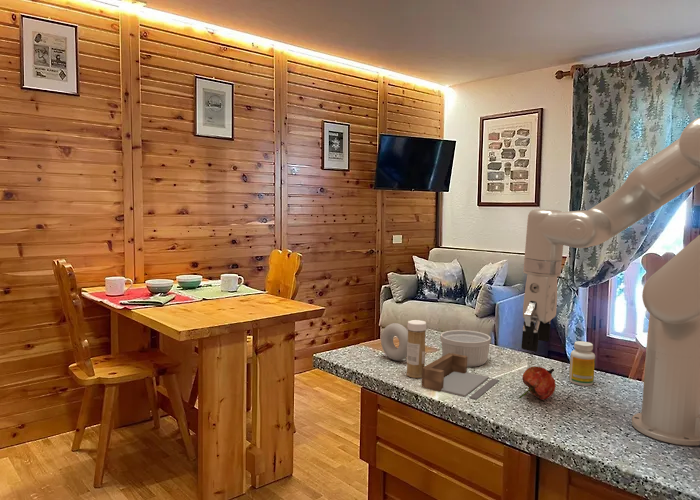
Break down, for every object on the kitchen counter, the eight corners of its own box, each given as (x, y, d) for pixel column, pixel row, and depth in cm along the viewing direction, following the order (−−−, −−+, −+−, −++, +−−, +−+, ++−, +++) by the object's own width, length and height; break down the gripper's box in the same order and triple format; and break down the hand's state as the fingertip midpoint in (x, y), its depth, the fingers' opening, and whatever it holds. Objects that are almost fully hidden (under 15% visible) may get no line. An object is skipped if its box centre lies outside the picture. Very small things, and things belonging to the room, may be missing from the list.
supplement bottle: (565, 378, 127) (567, 340, 126) (586, 378, 127) (589, 340, 126) (575, 386, 121) (577, 346, 120) (597, 386, 122) (600, 346, 121)
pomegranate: (533, 415, 109) (572, 388, 109) (512, 387, 110) (551, 359, 109) (523, 405, 117) (559, 379, 117) (503, 379, 117) (539, 353, 117)
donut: (414, 363, 136) (415, 325, 136) (405, 365, 134) (406, 327, 133) (386, 354, 144) (387, 319, 143) (377, 357, 141) (378, 320, 140)
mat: (488, 378, 126) (488, 376, 126) (465, 396, 113) (465, 395, 113) (456, 371, 130) (456, 370, 130) (429, 388, 118) (430, 386, 118)
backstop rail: (466, 373, 129) (467, 356, 129) (440, 391, 116) (441, 372, 116) (448, 369, 132) (449, 352, 131) (421, 386, 119) (421, 368, 118)
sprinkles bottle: (428, 376, 126) (430, 322, 125) (414, 379, 124) (416, 324, 122) (416, 371, 130) (417, 318, 129) (402, 374, 127) (403, 320, 126)
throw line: (499, 380, 124) (499, 379, 124) (476, 399, 112) (476, 398, 112) (492, 379, 125) (492, 378, 125) (469, 397, 113) (469, 397, 113)
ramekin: (429, 359, 140) (430, 334, 139) (458, 351, 149) (459, 327, 148) (471, 372, 130) (472, 345, 130) (499, 362, 139) (500, 336, 138)
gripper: (550, 273, 102) (543, 358, 104) (569, 265, 116) (562, 340, 118) (512, 269, 106) (505, 350, 108) (535, 261, 120) (529, 333, 122)
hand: (535, 345), depth 113 cm, fingers open, 9 cm apart
